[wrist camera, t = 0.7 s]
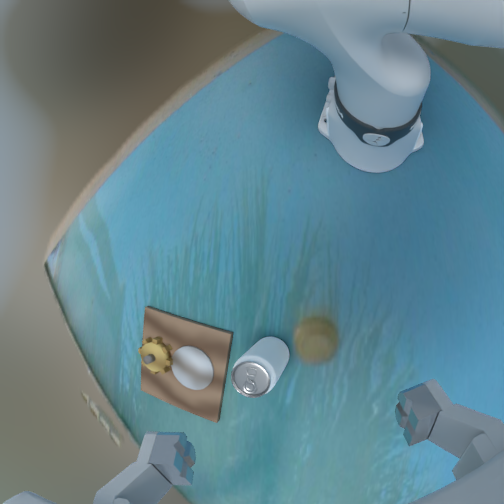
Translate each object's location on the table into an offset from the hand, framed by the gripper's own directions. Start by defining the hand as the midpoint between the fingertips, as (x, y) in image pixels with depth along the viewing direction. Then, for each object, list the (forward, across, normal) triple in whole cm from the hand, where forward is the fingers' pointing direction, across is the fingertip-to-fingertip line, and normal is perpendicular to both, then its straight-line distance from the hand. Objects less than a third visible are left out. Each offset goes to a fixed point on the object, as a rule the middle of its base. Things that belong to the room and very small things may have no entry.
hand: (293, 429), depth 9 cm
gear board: (+37, +20, +25) cm, 49 cm away
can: (+34, +2, +22) cm, 40 cm away
